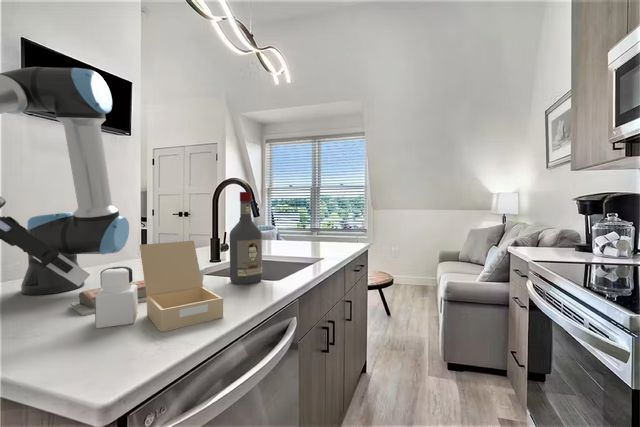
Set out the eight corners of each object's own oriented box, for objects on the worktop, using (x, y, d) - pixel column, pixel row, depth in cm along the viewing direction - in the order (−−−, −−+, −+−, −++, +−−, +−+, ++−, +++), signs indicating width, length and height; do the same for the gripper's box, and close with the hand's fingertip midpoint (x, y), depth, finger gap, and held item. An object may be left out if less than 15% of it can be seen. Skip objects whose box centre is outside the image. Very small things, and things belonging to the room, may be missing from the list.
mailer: (141, 307, 82) (139, 244, 81) (194, 297, 90) (193, 240, 90) (161, 332, 66) (159, 254, 66) (223, 317, 75) (222, 248, 74)
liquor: (227, 281, 109) (226, 192, 108) (251, 276, 116) (250, 192, 114) (240, 286, 103) (239, 191, 102) (265, 281, 109) (264, 192, 108)
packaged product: (143, 277, 96) (159, 282, 90) (144, 293, 96) (160, 299, 90) (69, 290, 82) (82, 297, 76) (70, 309, 82) (82, 317, 76)
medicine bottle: (102, 318, 75) (101, 266, 74) (138, 313, 77) (136, 263, 77) (95, 329, 68) (93, 272, 68) (134, 324, 71) (132, 269, 70)
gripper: (-60, 215, 60) (46, 280, 72) (-63, 219, 44) (75, 303, 56) (-20, 188, 64) (74, 254, 76) (-9, 182, 48) (109, 268, 60)
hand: (75, 275), depth 66 cm, fingers open, 13 cm apart
